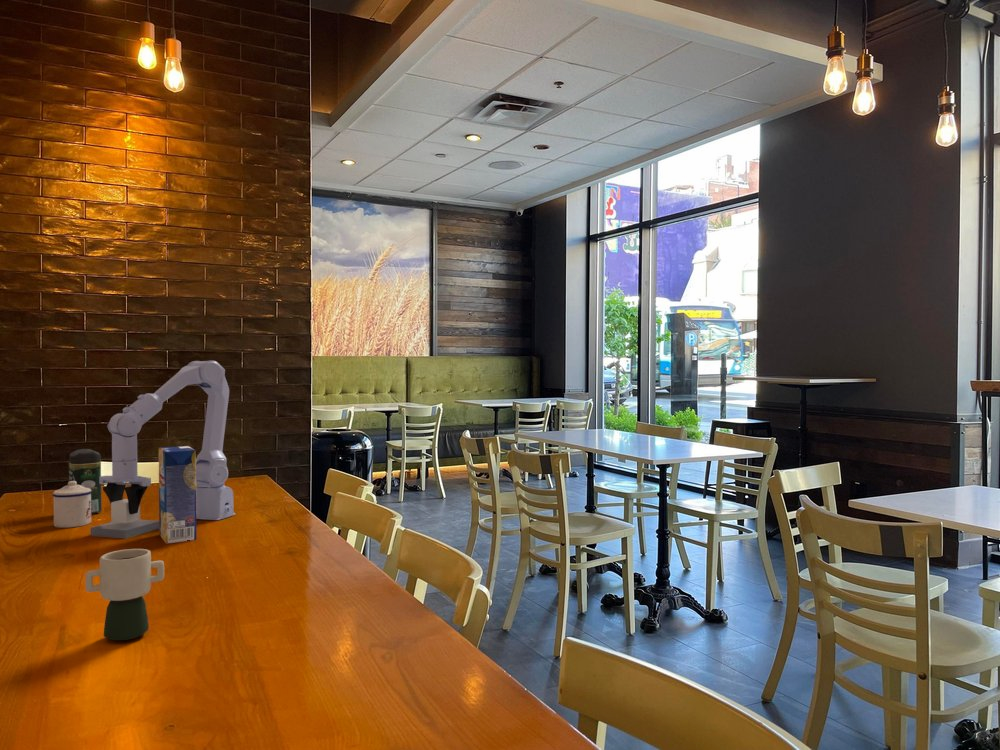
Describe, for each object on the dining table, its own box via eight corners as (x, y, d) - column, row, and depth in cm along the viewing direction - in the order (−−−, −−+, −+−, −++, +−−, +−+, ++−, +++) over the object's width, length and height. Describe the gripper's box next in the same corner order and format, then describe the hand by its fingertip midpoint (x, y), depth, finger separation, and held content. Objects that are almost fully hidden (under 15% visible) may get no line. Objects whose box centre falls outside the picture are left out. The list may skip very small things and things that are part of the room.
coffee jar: (67, 512, 205) (67, 448, 205) (98, 508, 210) (98, 446, 210) (71, 517, 198) (71, 452, 197) (103, 514, 202) (103, 449, 202)
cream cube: (139, 519, 182) (139, 499, 182) (126, 523, 177) (126, 503, 177) (125, 518, 183) (125, 499, 183) (111, 522, 178) (111, 502, 178)
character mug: (160, 622, 116) (160, 544, 116) (168, 636, 110) (167, 553, 110) (84, 637, 110) (83, 554, 109) (88, 652, 104) (87, 565, 103)
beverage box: (188, 531, 181) (187, 445, 181) (196, 539, 172) (195, 450, 171) (159, 534, 177) (158, 447, 177) (166, 543, 168) (165, 452, 168)
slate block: (159, 530, 184) (159, 521, 184) (125, 540, 173) (125, 530, 173) (125, 527, 187) (125, 518, 187) (90, 537, 176) (90, 527, 176)
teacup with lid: (95, 524, 189) (95, 481, 189) (56, 530, 183) (55, 485, 182) (85, 517, 198) (85, 476, 197) (47, 522, 192) (47, 480, 191)
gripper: (89, 461, 178) (89, 514, 178) (135, 463, 174) (136, 517, 174) (111, 457, 185) (112, 509, 185) (157, 459, 181) (157, 512, 181)
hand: (125, 512), depth 180 cm, fingers closed on cream cube, 4 cm apart
